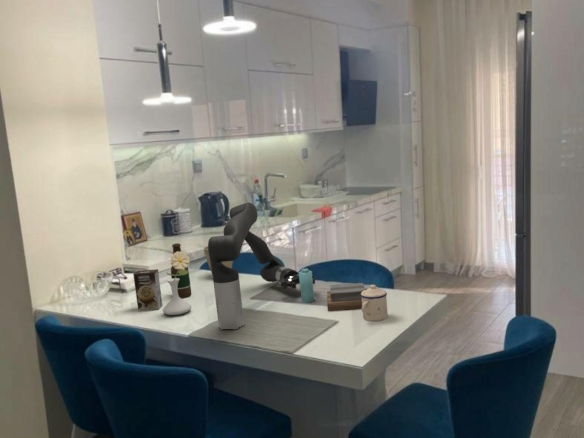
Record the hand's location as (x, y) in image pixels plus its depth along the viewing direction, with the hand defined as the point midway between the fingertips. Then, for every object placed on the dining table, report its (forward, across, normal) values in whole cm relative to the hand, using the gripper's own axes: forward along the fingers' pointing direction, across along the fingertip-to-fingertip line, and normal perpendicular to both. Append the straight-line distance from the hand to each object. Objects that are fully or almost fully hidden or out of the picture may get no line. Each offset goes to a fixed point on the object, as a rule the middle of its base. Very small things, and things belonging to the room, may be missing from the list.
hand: (304, 283), depth 223 cm
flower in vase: (-22, -46, +7) cm, 52 cm away
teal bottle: (+1, 0, +7) cm, 7 cm away
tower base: (+15, +10, +7) cm, 20 cm away
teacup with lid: (+37, +7, +7) cm, 38 cm away
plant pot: (-64, -14, +7) cm, 66 cm away
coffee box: (-37, -55, +7) cm, 67 cm away
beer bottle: (-45, -39, +7) cm, 60 cm away
